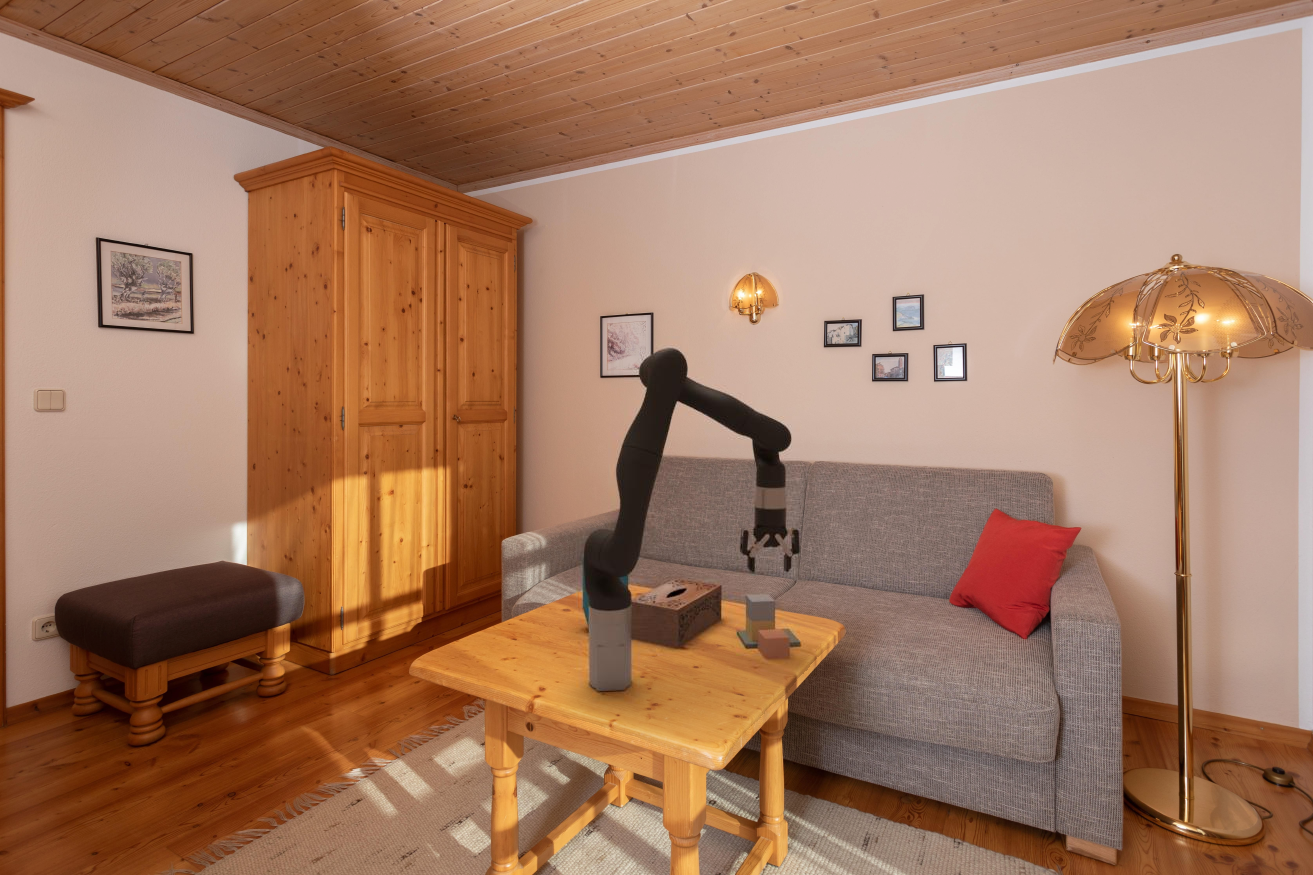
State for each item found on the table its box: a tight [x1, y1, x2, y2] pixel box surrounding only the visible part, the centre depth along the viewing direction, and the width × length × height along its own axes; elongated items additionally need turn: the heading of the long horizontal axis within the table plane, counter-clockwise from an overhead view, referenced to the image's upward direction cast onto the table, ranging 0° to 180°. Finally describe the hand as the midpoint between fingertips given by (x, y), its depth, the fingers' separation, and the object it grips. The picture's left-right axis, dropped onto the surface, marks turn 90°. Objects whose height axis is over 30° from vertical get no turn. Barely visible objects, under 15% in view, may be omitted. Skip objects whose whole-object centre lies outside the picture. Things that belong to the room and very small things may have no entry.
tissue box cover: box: [631, 577, 723, 650], centre depth 183 cm, size 26×14×10 cm, turn 150°
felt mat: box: [736, 628, 802, 649], centre depth 174 cm, size 10×14×1 cm
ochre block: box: [745, 614, 776, 641], centre depth 174 cm, size 6×6×5 cm
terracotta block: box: [757, 628, 791, 660], centre depth 165 cm, size 6×6×5 cm
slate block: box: [745, 593, 776, 622], centre depth 174 cm, size 6×6×5 cm
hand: (769, 571), depth 165 cm, fingers open, 8 cm apart
